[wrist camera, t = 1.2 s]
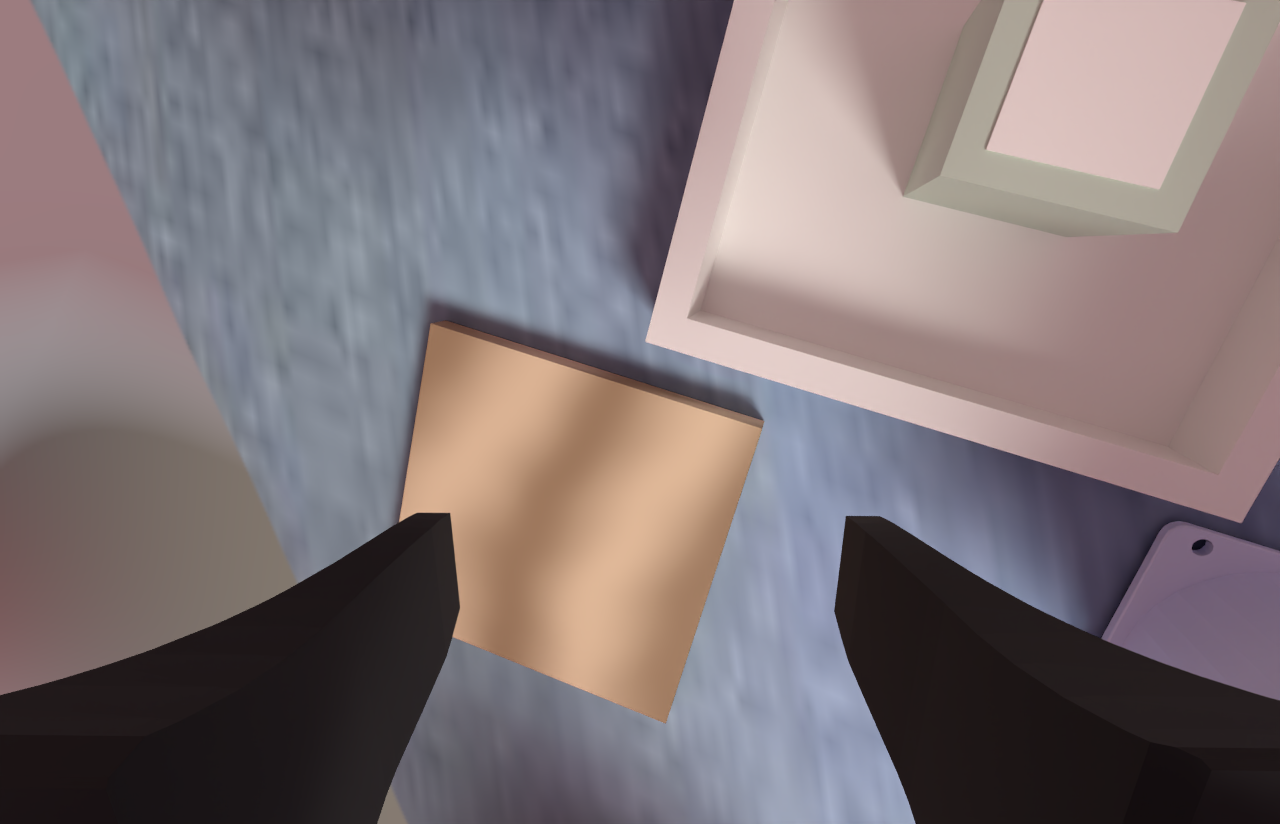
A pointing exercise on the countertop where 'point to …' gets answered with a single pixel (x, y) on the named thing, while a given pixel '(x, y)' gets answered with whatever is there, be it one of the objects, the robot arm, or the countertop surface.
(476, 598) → the oak board
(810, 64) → the bin
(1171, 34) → the gray box
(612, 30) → the countertop surface
